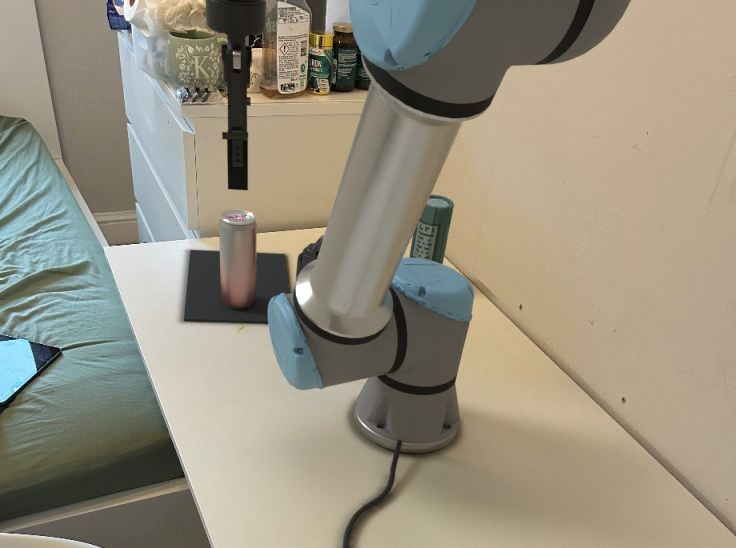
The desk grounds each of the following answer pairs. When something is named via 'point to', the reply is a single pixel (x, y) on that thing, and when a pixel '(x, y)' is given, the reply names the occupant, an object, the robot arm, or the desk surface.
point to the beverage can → (238, 258)
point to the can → (432, 230)
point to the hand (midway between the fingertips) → (237, 171)
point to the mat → (207, 288)
